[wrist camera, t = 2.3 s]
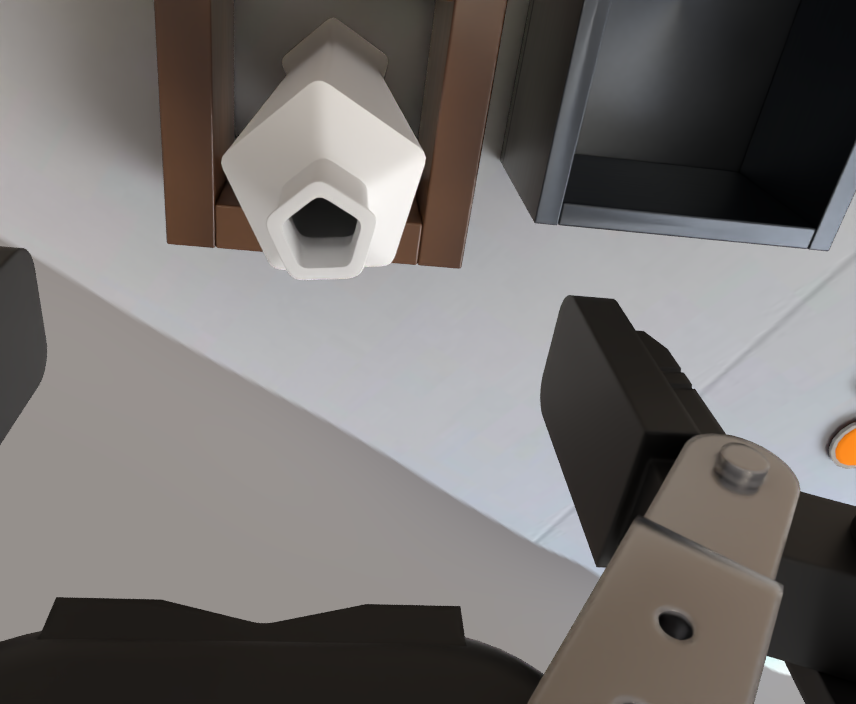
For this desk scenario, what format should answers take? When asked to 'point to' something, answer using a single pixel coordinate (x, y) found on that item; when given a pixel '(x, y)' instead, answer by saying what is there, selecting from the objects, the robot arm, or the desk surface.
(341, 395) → the desk surface
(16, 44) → the desk surface
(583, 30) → the dark grey open box
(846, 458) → the key chain
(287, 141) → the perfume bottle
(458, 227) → the rack
